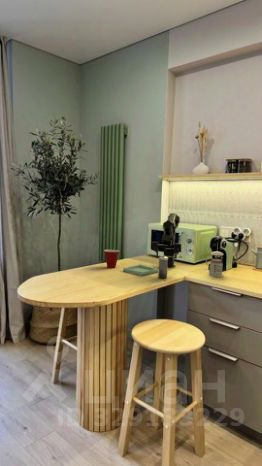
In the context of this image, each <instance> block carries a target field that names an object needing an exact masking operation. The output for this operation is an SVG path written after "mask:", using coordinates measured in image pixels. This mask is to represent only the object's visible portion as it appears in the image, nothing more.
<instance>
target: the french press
mask: <svg viewBox="0 0 262 466" xmlns="http://www.w3.org/2000/svg"><path fill="white" fill-rule="evenodd" d="M216 239H220V236H216ZM218 245H219V243H217V248H216V249H219V248H218ZM212 256H216V257H219V256H221V257H222V256H224V253H223V252H221V251H218V250H216V251H212V252H211V253H210V255H208V256H207V257H206V259H205V263H206V265H207V267H209V271H208V273H207V275H208V276H211V277H215V276H217V278H218V277H219V278H220V277H224V275H223V265H224V264H223V263H224V262H223V260H222V259H219V258H212ZM209 258H210V263H209V265H208V259H209Z"/></svg>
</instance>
